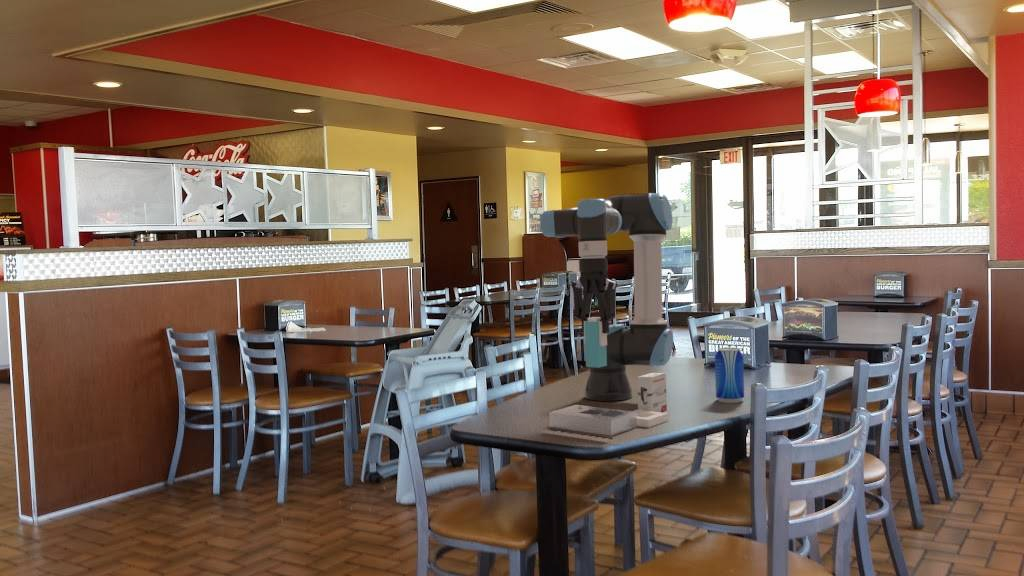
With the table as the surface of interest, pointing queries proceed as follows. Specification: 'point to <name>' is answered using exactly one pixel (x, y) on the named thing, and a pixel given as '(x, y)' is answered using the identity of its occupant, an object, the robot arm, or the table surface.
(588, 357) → the plug
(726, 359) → the beer can
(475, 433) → the table surface
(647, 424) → the holster
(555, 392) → the table surface
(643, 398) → the ink box
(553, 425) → the port panel
